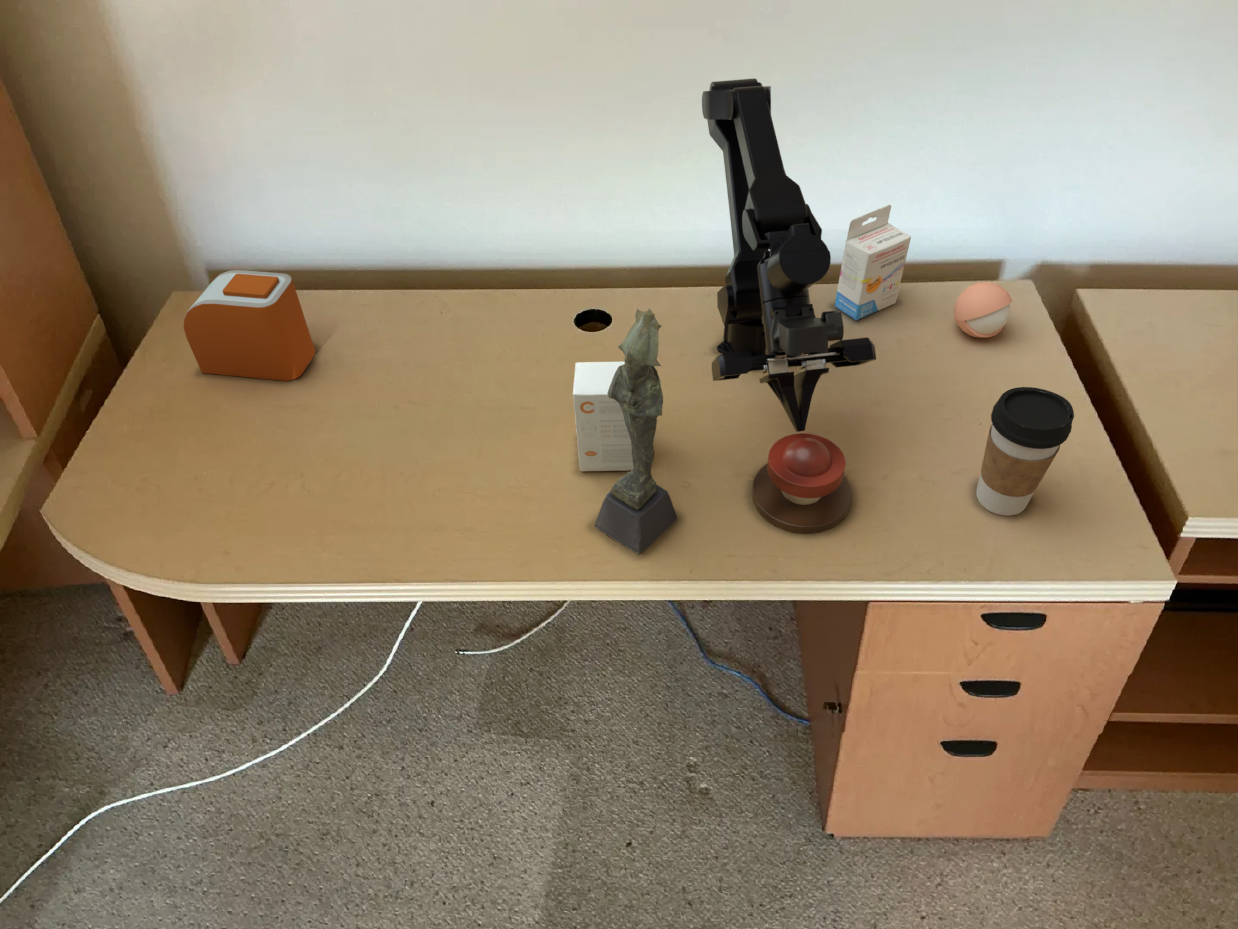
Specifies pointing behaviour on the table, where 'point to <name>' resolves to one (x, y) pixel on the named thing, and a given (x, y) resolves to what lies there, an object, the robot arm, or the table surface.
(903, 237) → the ink box
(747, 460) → the table surface
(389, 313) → the table surface
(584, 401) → the small box
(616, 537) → the statue
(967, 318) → the toy ball
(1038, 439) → the coffee cup
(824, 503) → the toy mushroom
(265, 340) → the alarm clock
